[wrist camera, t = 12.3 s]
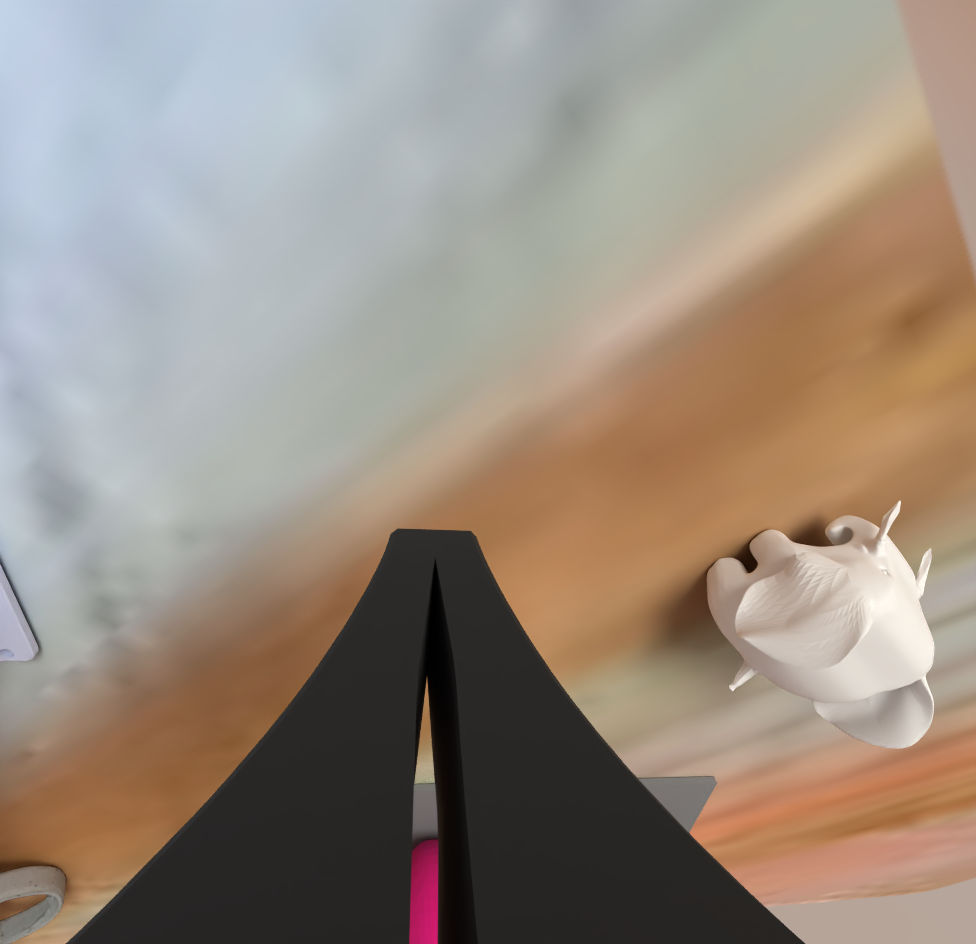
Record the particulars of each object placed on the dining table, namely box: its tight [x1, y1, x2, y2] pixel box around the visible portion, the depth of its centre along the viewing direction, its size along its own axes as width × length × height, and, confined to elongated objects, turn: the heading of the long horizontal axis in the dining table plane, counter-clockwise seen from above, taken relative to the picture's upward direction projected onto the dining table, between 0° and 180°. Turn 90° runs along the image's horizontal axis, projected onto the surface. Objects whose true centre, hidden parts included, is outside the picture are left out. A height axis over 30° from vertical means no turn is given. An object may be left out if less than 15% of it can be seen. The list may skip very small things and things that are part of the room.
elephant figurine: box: [707, 501, 934, 749], centre depth 21 cm, size 8×10×7 cm
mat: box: [412, 777, 717, 851], centre depth 35 cm, size 20×14×1 cm
